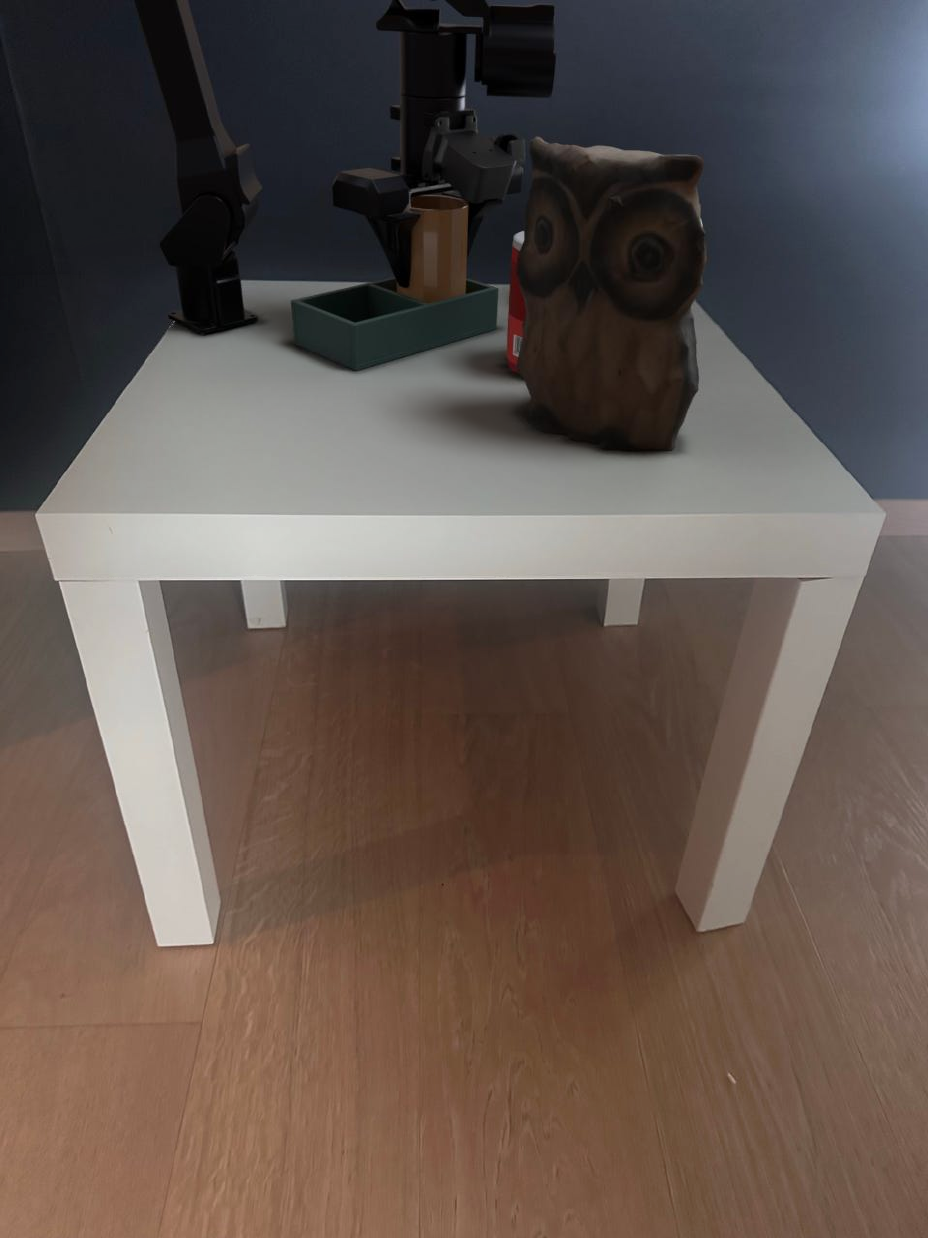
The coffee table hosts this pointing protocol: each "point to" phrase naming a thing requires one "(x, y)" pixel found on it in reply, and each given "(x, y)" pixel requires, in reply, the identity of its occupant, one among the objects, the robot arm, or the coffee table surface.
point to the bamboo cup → (438, 249)
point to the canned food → (515, 307)
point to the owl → (610, 293)
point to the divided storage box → (388, 321)
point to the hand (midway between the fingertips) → (430, 280)
